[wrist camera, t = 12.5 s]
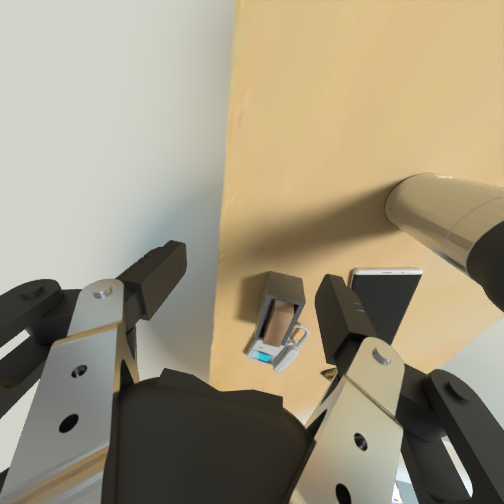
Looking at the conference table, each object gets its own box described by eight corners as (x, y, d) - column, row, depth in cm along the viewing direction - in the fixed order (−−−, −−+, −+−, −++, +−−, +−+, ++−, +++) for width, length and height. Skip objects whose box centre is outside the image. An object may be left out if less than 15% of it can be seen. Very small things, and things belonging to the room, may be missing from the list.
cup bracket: (302, 278, 44) (305, 303, 37) (284, 319, 52) (284, 346, 45) (269, 270, 44) (267, 294, 37) (257, 313, 52) (253, 338, 46)
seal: (319, 375, 67) (363, 380, 64) (321, 390, 63) (368, 397, 60) (323, 364, 61) (371, 370, 58) (325, 380, 57) (377, 387, 55)
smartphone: (337, 340, 54) (339, 345, 53) (352, 266, 41) (355, 271, 39) (387, 343, 52) (390, 348, 50) (420, 265, 38) (425, 270, 37)
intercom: (319, 336, 47) (281, 376, 60) (317, 322, 51) (281, 362, 64) (273, 319, 47) (244, 363, 60) (274, 306, 50) (246, 350, 63)
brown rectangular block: (292, 297, 41) (294, 314, 36) (279, 329, 47) (279, 347, 43) (275, 293, 41) (274, 310, 36) (264, 325, 47) (262, 343, 43)
